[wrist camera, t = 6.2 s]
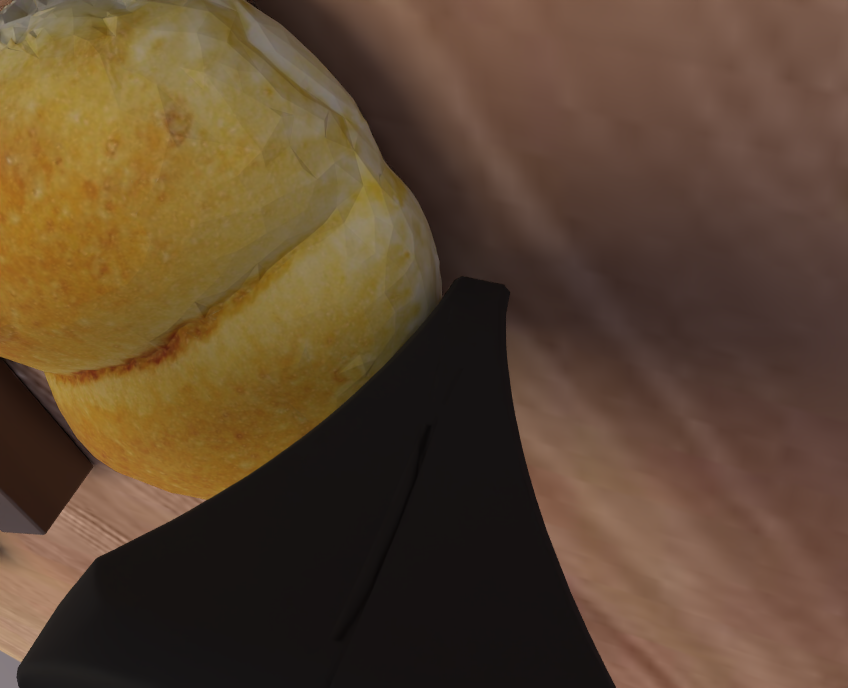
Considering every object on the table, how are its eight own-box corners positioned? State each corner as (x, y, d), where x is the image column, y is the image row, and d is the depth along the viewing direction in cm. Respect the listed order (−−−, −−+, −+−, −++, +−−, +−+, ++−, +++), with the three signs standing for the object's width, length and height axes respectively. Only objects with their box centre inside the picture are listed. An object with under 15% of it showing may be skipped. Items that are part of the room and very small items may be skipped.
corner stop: (303, -508, 7) (187, -550, 5) (562, 475, 15) (547, 570, 14) (-459, -98, 12) (-628, -58, 10) (53, 465, 20) (1, 533, 19)
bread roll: (204, 428, 17) (111, 581, 15) (-109, 75, 13) (-339, 204, 10) (537, 378, 14) (497, 574, 11) (270, -161, 9) (69, -59, 6)
